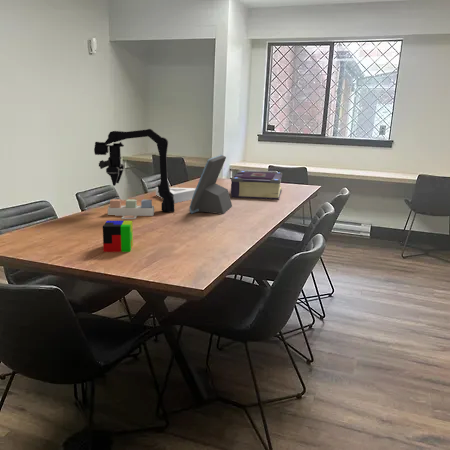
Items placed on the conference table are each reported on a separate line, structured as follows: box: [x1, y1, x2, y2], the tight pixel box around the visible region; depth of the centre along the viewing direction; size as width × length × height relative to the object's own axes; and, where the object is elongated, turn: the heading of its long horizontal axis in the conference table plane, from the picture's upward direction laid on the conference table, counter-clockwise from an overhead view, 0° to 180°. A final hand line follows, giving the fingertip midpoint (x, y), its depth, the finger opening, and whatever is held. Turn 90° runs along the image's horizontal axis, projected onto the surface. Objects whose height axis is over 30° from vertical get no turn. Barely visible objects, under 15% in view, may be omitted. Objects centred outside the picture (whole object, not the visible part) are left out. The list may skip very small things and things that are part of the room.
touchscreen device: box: [189, 154, 233, 215], centre depth 263 cm, size 35×20×30 cm, turn 168°
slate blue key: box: [140, 199, 153, 208], centre depth 246 cm, size 5×5×5 cm
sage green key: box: [125, 198, 138, 208], centre depth 245 cm, size 5×5×5 cm
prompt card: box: [121, 216, 138, 220], centre depth 238 cm, size 7×6×1 cm
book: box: [230, 170, 284, 201], centre depth 323 cm, size 33×45×14 cm
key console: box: [107, 204, 155, 217], centre depth 246 cm, size 23×7×4 cm, turn 94°
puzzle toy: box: [102, 220, 134, 253], centre depth 182 cm, size 10×10×10 cm
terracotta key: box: [109, 198, 122, 208], centre depth 245 cm, size 5×5×5 cm
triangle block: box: [155, 186, 196, 204], centre depth 298 cm, size 30×26×6 cm
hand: (115, 184), depth 251 cm, fingers open, 9 cm apart
